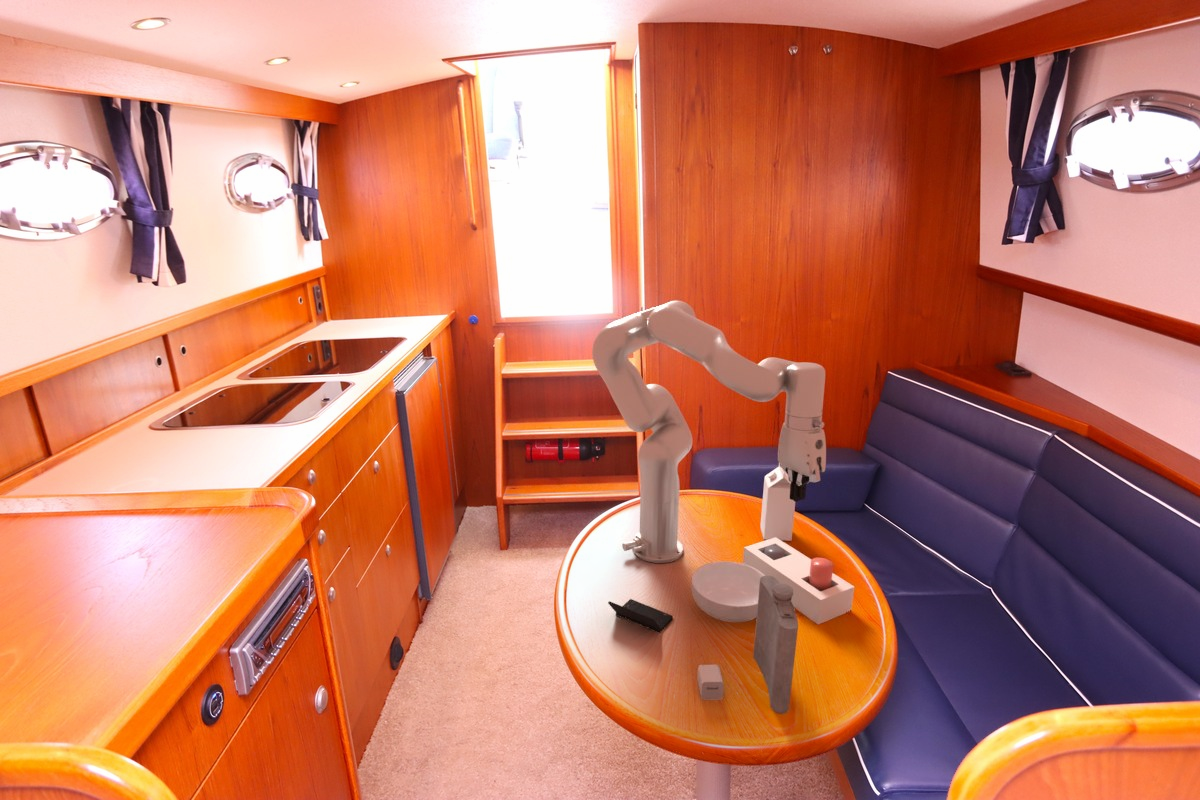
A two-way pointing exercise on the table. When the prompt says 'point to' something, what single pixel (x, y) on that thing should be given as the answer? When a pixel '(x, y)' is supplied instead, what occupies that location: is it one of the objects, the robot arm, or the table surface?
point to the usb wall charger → (710, 682)
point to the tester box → (801, 581)
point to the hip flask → (776, 640)
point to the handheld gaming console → (643, 615)
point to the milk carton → (777, 506)
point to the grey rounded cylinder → (774, 552)
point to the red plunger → (820, 573)
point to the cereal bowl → (727, 590)
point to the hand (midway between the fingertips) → (797, 498)
